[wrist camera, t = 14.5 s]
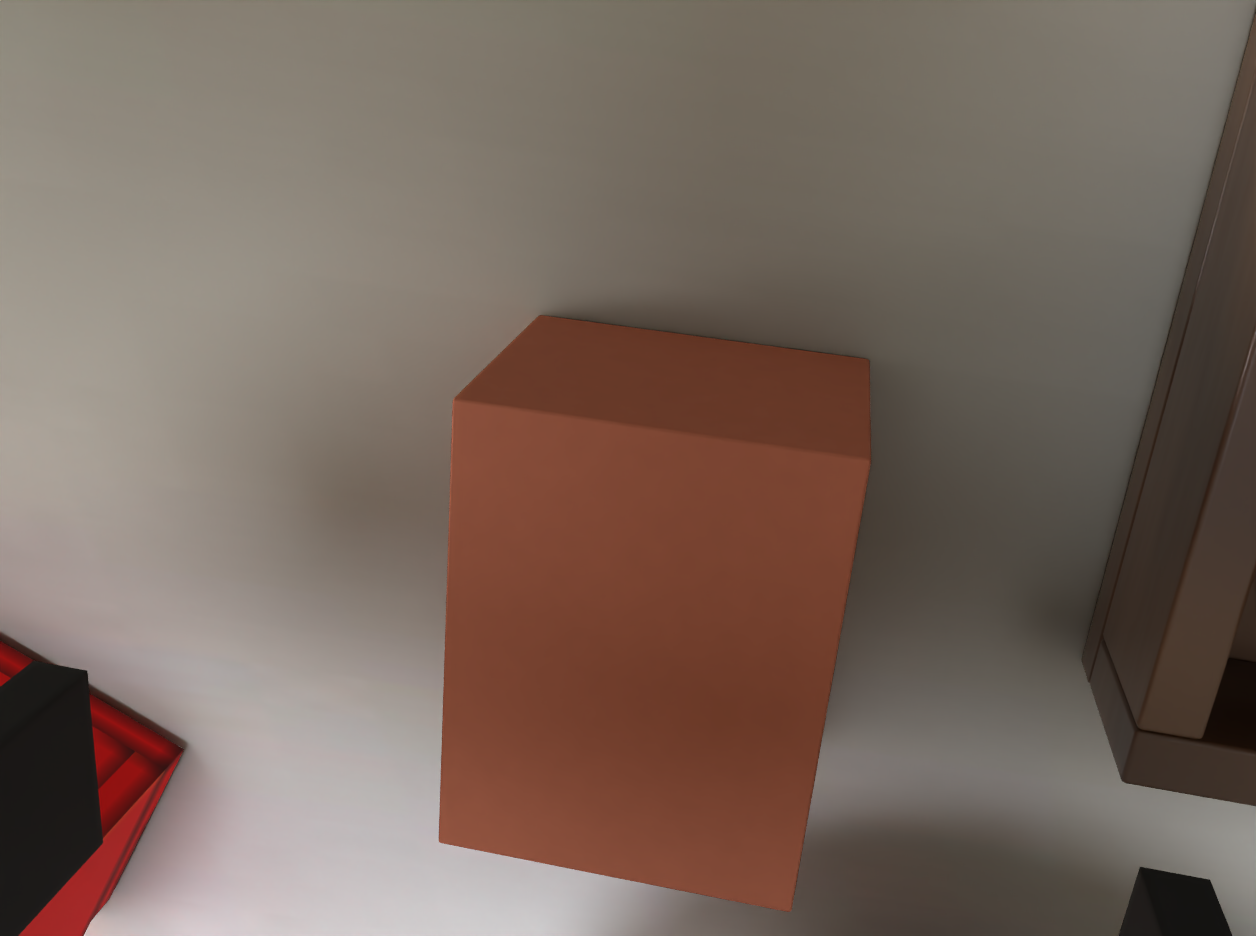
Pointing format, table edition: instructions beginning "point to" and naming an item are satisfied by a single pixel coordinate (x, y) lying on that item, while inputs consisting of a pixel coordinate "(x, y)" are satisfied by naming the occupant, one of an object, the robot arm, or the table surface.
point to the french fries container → (106, 807)
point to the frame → (1193, 518)
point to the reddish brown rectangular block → (648, 602)
